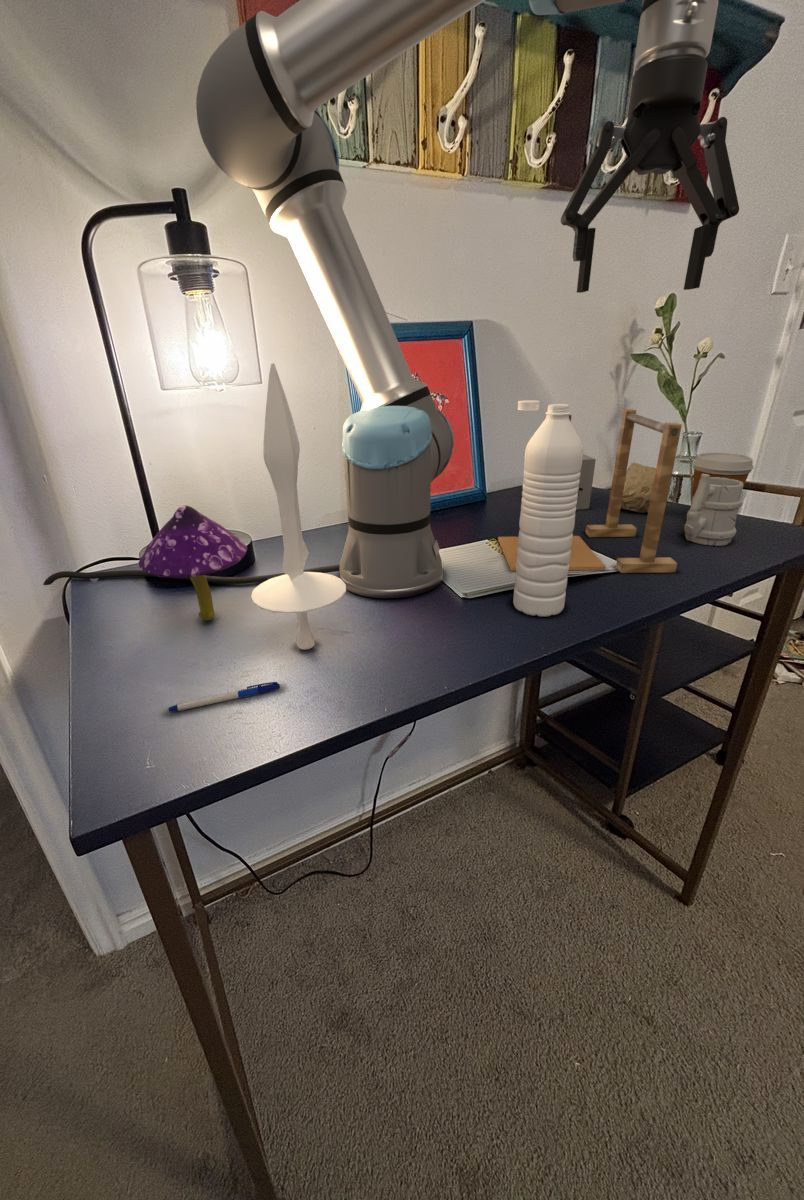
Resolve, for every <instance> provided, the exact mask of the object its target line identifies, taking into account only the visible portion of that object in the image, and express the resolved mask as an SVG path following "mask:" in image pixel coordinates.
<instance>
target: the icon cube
mask: <svg viewBox="0 0 804 1200" xmlns="http://www.w3.org/2000/svg"><path fill="white" fill-rule="evenodd" d="M596 461H597V458H595V457H591V456H589V455H586V454H585V453H583V461H582V466H581V470H580V478H579V479H580V482H579V485H578V486H579V490H578V492H577V493H578V497H577V505H576V511H577V510H587V509H588V510H589V509H590V503H591V498H592V497H591V496H592V489H593V484H594V483H593V482H594V475H595V467H596Z"/></svg>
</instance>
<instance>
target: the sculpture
mask: <svg viewBox="0 0 804 1200" xmlns="http://www.w3.org/2000/svg"><path fill="white" fill-rule="evenodd" d="M265 404H266V405H265V413H264V414H265V415H264V431H263V446H262V447H263V450H262V451H263V453H262V455H263V461H264V465H265V467H266V469H267V471H268V474H269V475H270V479H271V483H272V485H273V488H274V491H275V495H276V498H277V503H278V510H279V511H278V513H279V519H280V525H281V526H280V527H281V534H282V544H283V556H282V567H281V573H285V575H281V576H278V577H274V578H271V579H269V580H267V581H265V582H260V583H259V584H258V585H257V586H256V587H254V589H252V592H251V594H250V598H251V601H252V603H253V604H254V605H255V606H256V607H258V608H259V609H261V610H265V611H268V612H270V613H280V614H296V617H297V621H298V629H297V635H296V639H295V640H296V647H297V648H299V649H300V650H305V651H307V650H310V649H312V648H313V647H314V646H315V645H316V642H315V638H314V635H313V633H312V631H311V629H310V626H309V625H310V624H309V621H308V620H309V619H308V612H312V611H317V610H320V609H323V608H327V607H328V606H331V605H333V604H335V603H336V602H338V601H339V600H341V599H342V598H343V596H344V595H345V594H346V592H347V589H346V584H345V583H344V582H343V581H342V580H341V579H340V577H338V576H336V575H334V574H330V573H318V572H304V570H305V569H304V568H305V564H306V561H307V559H308V557H309V554H310V553H309V551H308V548H307V545H306V543H305V541H304V538H303V531H302V521H301V514H300V505H299V495H298V477H299V476H298V474H299V462H300V461H299V460H300V452H301V449H300V441H299V438H298V433H297V429H296V426H295V422H294V418H293V415H292V412H291V408H290V405H289V402H288V399H287V396H286V393H285V390H284V387H283V384H282V381H281V378H280V376H279V373H278V370H277V367H276V364H275V363H270V369H269V373H268V383H267V393H266V403H265Z"/></svg>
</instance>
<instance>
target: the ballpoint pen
mask: <svg viewBox="0 0 804 1200" xmlns="http://www.w3.org/2000/svg"><path fill="white" fill-rule="evenodd" d="M280 688H281V685H280V683H278V681H270V682H264V683H263V682H262V683H259V684H253V685H249V686H246V688H245V689H240V690H238V691H232V692H229V693H223V694H219V695H214V696H209V697H205V698H201V699H196V700H192V701H186V702H182V703H178V704H175V705H172V706H169V707H168V712H180V711H185V710H189V709H193V708H197V707H202V706H208V705H212V704H216V703H221V702H225V701H231V700H234V699H239V698H240V699H241V698H247V697H252V696H255V695H260V694H266V693H269V692H272V691H276V690H279V689H280Z"/></svg>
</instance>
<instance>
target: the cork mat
mask: <svg viewBox="0 0 804 1200" xmlns="http://www.w3.org/2000/svg"><path fill="white" fill-rule="evenodd" d="M497 540H498V542H499V546H500V548H501V550H502V553H503V555H504V557H505V560H506V562H507V566H508V567H509V570H510V572H517V571H516V561H517V555H518V554H517V548H518V545H519V544H518V536H498V537H497ZM570 549H571V556H570V561H569V571H605V568H606V566H605V565H604V564H603V563H602V561H601V560H600V559H599V558H598V556H597V555H596V554H595V553H594V552H593V550H592V549H591V548H590V547H589V545H588V544H587V543H586V542H585V541H584V540H583V539H582V537H581V536H580V535H573V540H572V546H571V548H570Z"/></svg>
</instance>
